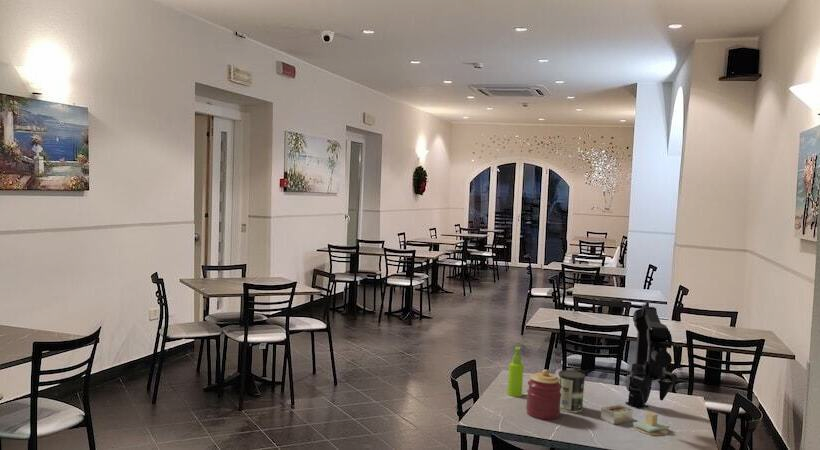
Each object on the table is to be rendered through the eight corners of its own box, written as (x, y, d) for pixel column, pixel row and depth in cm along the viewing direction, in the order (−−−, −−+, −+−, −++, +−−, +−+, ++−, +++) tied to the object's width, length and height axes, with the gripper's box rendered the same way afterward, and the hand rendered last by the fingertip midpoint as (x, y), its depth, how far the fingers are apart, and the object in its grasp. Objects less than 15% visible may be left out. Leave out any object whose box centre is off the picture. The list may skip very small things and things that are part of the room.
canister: (562, 412, 251) (566, 368, 250) (555, 422, 239) (559, 376, 238) (530, 406, 256) (533, 362, 255) (521, 415, 245) (524, 370, 244)
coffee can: (581, 405, 260) (584, 371, 259) (583, 414, 250) (585, 379, 249) (555, 402, 262) (558, 368, 261) (556, 411, 252) (558, 376, 251)
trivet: (648, 421, 246) (648, 420, 246) (675, 432, 236) (675, 431, 236) (626, 425, 240) (626, 424, 240) (653, 437, 230) (653, 436, 230)
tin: (618, 415, 251) (619, 404, 251) (631, 421, 245) (632, 409, 245) (600, 418, 246) (601, 407, 246) (613, 424, 240) (614, 413, 240)
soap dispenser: (522, 392, 273) (526, 346, 271) (520, 397, 266) (523, 350, 265) (509, 390, 274) (512, 345, 273) (506, 395, 268) (509, 348, 267)
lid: (652, 422, 244) (653, 408, 243) (669, 429, 237) (670, 415, 237) (632, 426, 238) (633, 412, 238) (649, 434, 232) (650, 419, 231)
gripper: (655, 352, 248) (651, 392, 249) (621, 356, 238) (618, 397, 239) (679, 360, 238) (676, 401, 239) (646, 364, 229) (642, 407, 230)
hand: (653, 401), depth 237 cm, fingers open, 9 cm apart
